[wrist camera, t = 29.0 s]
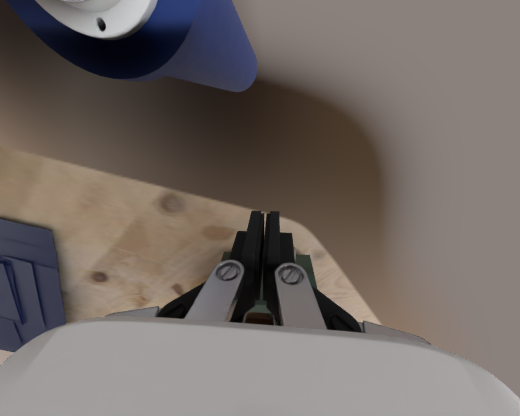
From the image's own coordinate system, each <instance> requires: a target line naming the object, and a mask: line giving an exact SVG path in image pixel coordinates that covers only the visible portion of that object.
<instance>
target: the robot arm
mask: <svg viewBox="0 0 520 416" xmlns="http://www.w3.org/2000/svg"><path fill="white" fill-rule="evenodd" d="M36 1H37V3H38V4H39V5H40V6H41V7H42V8H43V9H44V10H46V11H47V12H48V13H49V14H51V15H52V16H53V17H54V18H55V19H57V20H58V21H59V22H61V23H63V24H64V25H66V26H68V27H69V28H71V29H73V30H75V31H77V32H80V33H82V34H85V35H88V36H91V37H94V38H98V39H102V40H118V39H122V38H126V37H128V36H130V35H132V34H133V33H135V32H137V31H138V30H139V29H140V28H141V27H142V26H143V25H144V24H145V23H146V22H147V21H148V19H149V18H150V16H151V14H152V12H153V11H154V9H155V7H156V4H157V1H158V0H36ZM262 270H263V301H267V302H266V308H267V309H268V310H269V311H270V312H271V313H272V314H273V321H274V325H260V324H247V323H245V321H246V318H247V312H248V311H249V310H250V309H252V308H253V307H255V304H256V300H260V292H261V281H262ZM0 416H520V399H519V398H518V397H517V396H516V395H515V394H514V393H513V392H512V391H511V390H510V389H509V388H508V387H507V386H506V385H505V384H503V383H502V382H501V381H500V380H499V379H497V378H496V377H495V376H493V375H492V374H491V373H489V372H488V371H486V370H484V369H483V368H481V367H480V366H478V365H476V364H474V363H473V362H471V361H469V360H467V359H464V358H463V357H461V356H458V355H456V354H453V353H451V352H449V351H446V350H444V349H441V348H439V347H436V346H433V345H431V344H430V343H429V342H428V341H426V340H425V339H423V338H421V337H419V336H416V335H413V334H409V333H406V332H402V331H399V330H395V329H392V328H388V327H385V326H381V325H378V324H374V323H371V322H367V321H363V323H361V322H357V321H356V320H355V319H354V318H353V317H352V316H351V315H350V314H349V313H347V312H346V311H345V310H343V309H342V308H341V307H339V306H338V305H337V304H335V303H334V302H333V301H332V300H330V299H329V298H328V297H326V296H325V295H324V294H322V293H321V292H320V291H318V290H317V289H316V288H314V287H313V286H312V285H311V284H310V281H309V278H308V276H307V273H306V271H305V270H304V269H303V268H302V267H301V266H299V265H297V264H295V257H294V248H293V239H292V233H280V226H279V212H278V211H277V212H275V211H271V212H270V214H267V217H266V227H265V238H264V213H261V211H252V212H251V216H250V220H249V224H248V228H247V231H238V232H237V235H236V238H235V241H234V244H233V248H232V251H231V254H230V257H229V260H226V261H223V262H220V263H219V264H217V265H216V266H215V268H214V269H213V271H212V272H211V274H210V276H209V278H208V279H207V281H206V282H204V283H202V284H201V285H199V286H197V287H196V288H194V289H192V290H190V291H189V292H187V293H185V294H183V295H182V296H180V297H178V298H177V299H175V300H173V301H171V302H170V303H168V304H167V305H165V306H164V307H163V308H160V309H159V306H156V307H150V308H143V309H136V310H130V311H123V312H116V313H112V314H109V315H106V316H105V317H96V318H90V319H84V320H80V321H76V322H72V323H69V324H65V325H62V326H59V327H56V328H54V329H51V330H49V331H47V332H44V333H43V334H41V335H39V336H37V337H35V338H34V339H32V340H31V341H29V342H28V343H26V344H25V345H24V346H22V347H21V348H20V349H18V350H17V351H16V352H15V353H13V354H12V355H11V356H10V357H9V358H7V359H6V360H5V361H4V362H3V363H2V364H0Z"/></svg>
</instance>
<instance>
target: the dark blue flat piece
mask: <svg viewBox="0 0 520 416" xmlns="http://www.w3.org/2000/svg"><path fill="white" fill-rule="evenodd" d="M58 273H59V270H58V262H57V254H56V251H55V247H54V242H53V237H52V232H51V230H47V229H43V228H38V227H34V226H29V225H25V224H20V223H16V222H11V221H7V220H2V219H0V350H6V351H10V352H16V351H17V350H18V349H20V348H21V347H22V346H24V345H25V344H26V343H28V342H29V341H31V340H32V339H34V338H35V337H37V336H39V335H41V334H43V333H44V332H47V331H49V330H51V329H54V328H56V327H59V326H62V325H65V324H66V321H65V315H64V308H63V301H62V295H61V288H60V282H59V275H58Z"/></svg>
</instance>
